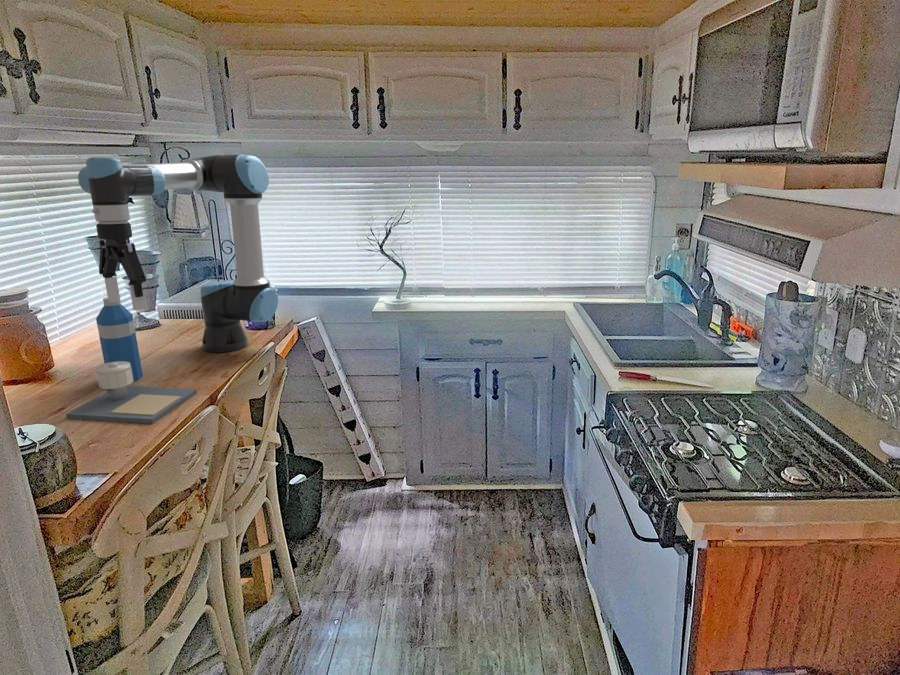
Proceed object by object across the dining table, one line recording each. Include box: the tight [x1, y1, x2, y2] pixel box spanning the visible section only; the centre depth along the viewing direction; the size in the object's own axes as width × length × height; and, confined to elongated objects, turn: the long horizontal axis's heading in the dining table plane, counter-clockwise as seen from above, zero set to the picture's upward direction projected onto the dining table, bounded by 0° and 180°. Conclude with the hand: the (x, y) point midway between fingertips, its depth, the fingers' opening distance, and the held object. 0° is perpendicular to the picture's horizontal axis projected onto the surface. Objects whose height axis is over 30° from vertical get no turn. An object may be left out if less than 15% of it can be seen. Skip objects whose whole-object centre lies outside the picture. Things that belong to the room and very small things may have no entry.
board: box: [65, 385, 198, 425], centre depth 155 cm, size 20×24×9 cm
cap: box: [95, 361, 134, 390], centre depth 157 cm, size 8×8×6 cm
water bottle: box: [95, 296, 144, 382], centre depth 172 cm, size 9×9×25 cm
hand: (126, 305), depth 150 cm, fingers open, 13 cm apart
